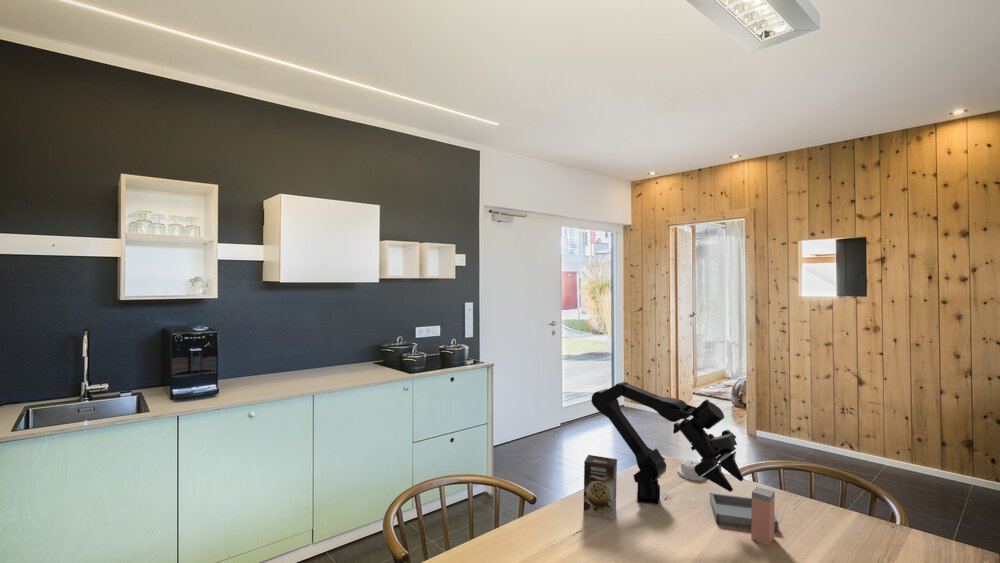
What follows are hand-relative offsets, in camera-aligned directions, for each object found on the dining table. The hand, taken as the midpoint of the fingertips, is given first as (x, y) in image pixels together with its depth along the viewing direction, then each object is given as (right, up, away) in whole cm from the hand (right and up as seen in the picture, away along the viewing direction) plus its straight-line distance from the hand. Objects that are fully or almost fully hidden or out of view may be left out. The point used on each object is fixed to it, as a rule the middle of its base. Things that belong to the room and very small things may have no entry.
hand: (737, 485), depth 136 cm
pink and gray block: (+5, -13, -4) cm, 14 cm away
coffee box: (-37, -13, +10) cm, 40 cm away
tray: (+5, -12, +8) cm, 16 cm away
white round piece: (+2, -12, +37) cm, 39 cm away
